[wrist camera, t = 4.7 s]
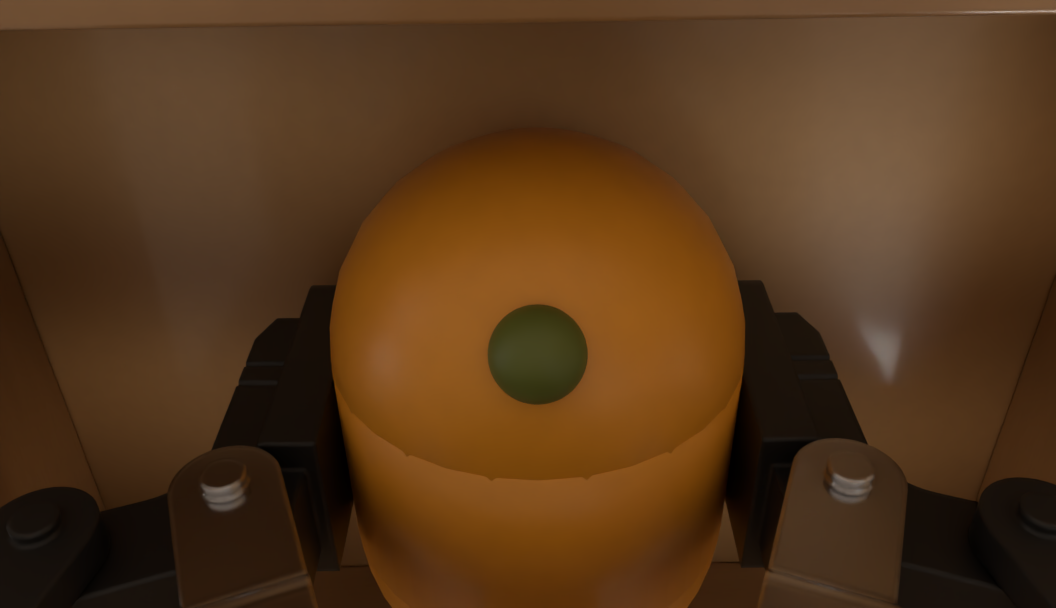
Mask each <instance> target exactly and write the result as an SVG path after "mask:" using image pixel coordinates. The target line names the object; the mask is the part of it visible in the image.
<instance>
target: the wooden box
mask: <svg viewBox="0 0 1056 608" xmlns="http://www.w3.org/2000/svg"><path fill="white" fill-rule="evenodd" d="M532 127H539V128H557V129H566V130H571V131H576V132H581V133H584V134H588V135H591V136H595V137H598V138H602V139H605V140H608V141H611V142H614V143H618V144H620V145H622V146H624V147H626V148H628V149H631V150H633V151H634V152H636V153H637V154H639V155H640V156H642V157H643V158H645V159H646V160H648V161H649V162H651V163H652V164H654V165H655V166H657V167H658V168H660V169H661V170H663V171H664V172H666V173H667V174H669V175H670V176H672V177H673V178H674V179H675V180H676V181H677V182H678V183H679V184H680V185H681V186H682V187H683V188H684V189H685V190H686V191H687V193H688V194H689V195H690V196H691V197H692V198H693V199H694V201H695V202H696V203H697V204H698V205H699V206H700V207H701V209H702V210H703V211H704V212H705V213H706V214H707V216H708V217H709V218H710V220H711V222H712V224H713V226H714V228H715V230H716V232H717V234H718V236H719V238H720V240H721V242H722V243H723V245H724V247H725V249H726V251H727V253H728V255H729V257H730V259H731V261H732V263H733V265H734V268H735V273H736V277H737V280H761V281H762V282H763V284H764V286H765V289H766V292H767V294H768V297H769V300H770V302H771V305H772V308H773V310H774V313H779V312H797V313H798V314H799V315H801V316H802V317H803V318H804V319H805V320H806V321H807V322H808V323H810V324H811V325H812V326H813V327H814V328H815V329H816V330H817V331H819V332H820V334H821V337H822V339H823V341H824V344H825V346H826V348H827V350H828V353H829V355H830V360H832V362H833V364H834V367H835V369H836V371H837V374H838V379H840V381H841V383H842V385H843V388H844V390H845V392H846V395H847V397H848V399H849V401H850V404H851V406H852V408H853V411H854V413H855V415H856V418H857V420H858V422H859V425H860V427H861V429H862V432H863V434H864V436H865V439H866V441H867V443H868V445H870V446H873V447H875V448H877V449H878V450H880V451H882V452H884V453H885V454H886V455H888V456H889V457H890V458H892V459H893V460H894V461H895V462H896V463H897V464H898V466H899V467H900V468H901V469H902V471H903V473H904V475H905V477H906V480H907V482H908V483H910V484H912V485H914V486H917V487H920V488H922V489H925V490H929V491H932V492H936V493H941V494H945V495H950V496H954V497H959V498H963V499H967V500H972V501H976V502H979V499H980V496H981V494H982V492H983V491H984V489H985V488H986V487H988V486H989V485H990V484H992V483H994V482H996V481H998V480H1002V479H1005V478H1014V477H1023V478H1032V479H1038V480H1042V481H1046V482H1049V483H1052V484H1055V485H1056V0H0V508H1V507H2V506H4V505H5V504H7V503H9V502H10V501H12V500H14V499H16V498H18V497H20V496H22V495H25V494H27V493H30V492H33V491H36V490H40V489H44V488H50V487H73V488H77V489H80V490H83V491H85V492H87V493H88V494H90V495H91V496H92V497H93V498H94V499H95V501H96V502H97V505H98V507H99V510H100V512H101V511H105V510H109V509H113V508H117V507H121V506H125V505H129V504H133V503H137V502H141V501H145V500H148V499H152V498H155V497H158V496H160V495H163V494H165V493H167V492H168V488H169V485H170V483H171V481H172V479H173V478H174V476H175V475H176V474H177V472H178V471H179V470H180V469H181V468H182V467H183V466H184V465H186V464H187V463H188V462H190V461H191V460H192V459H194V458H196V457H198V456H199V455H201V454H204V453H206V452H208V451H211V449H212V447H213V444H214V442H215V439H216V437H217V434H218V432H219V429H220V426H221V424H222V421H223V419H224V416H225V414H226V411H227V409H228V406H229V404H230V401H231V399H232V396H233V394H234V391H235V388H236V386H238V385H239V382H238V381H239V378H240V376H241V373H242V371H243V368H244V367H246V361H247V358H248V356H249V353H250V350H251V348H252V345H253V343H254V340H255V339H256V338H257V337H258V336H259V335H260V334H261V333H262V332H263V331H264V330H265V329H266V328H267V327H268V326H269V325H270V324H271V323H273V322H274V321H275V320H276V319H277V318H300V315H301V312H302V309H303V306H304V303H305V300H306V297H307V295H308V292H309V289H310V287H311V286H312V285H337V280H338V275H339V271H340V269H341V267H342V264H343V262H344V260H345V258H346V256H347V254H348V252H349V250H350V248H351V246H352V243H353V241H354V239H355V237H356V235H357V233H358V231H359V229H360V227H361V225H362V223H363V221H364V220H365V219H366V217H367V216H368V215H369V214H370V213H371V211H372V210H373V209H374V208H375V207H376V205H377V204H378V203H379V202H380V201H381V199H382V198H383V197H384V196H385V195H386V193H387V192H388V191H389V190H390V189H391V188H392V187H393V186H394V185H395V183H396V182H397V181H399V180H400V179H402V178H403V177H404V176H406V175H407V174H408V173H410V172H411V171H413V170H414V169H415V168H417V167H418V166H420V165H421V164H422V163H424V162H425V161H427V160H428V159H429V158H431V157H432V156H434V155H435V154H437V153H439V152H441V151H443V150H445V149H447V148H449V147H451V146H453V145H456V144H459V143H462V142H464V141H467V140H470V139H473V138H477V137H480V136H483V135H486V134H490V133H494V132H498V131H503V130H510V129H517V128H532ZM764 575H765V568H741V566H740V562H739V557H738V553H737V549H736V545H735V540H734V536H733V532H732V527H731V523H730V519H729V515H728V510H727V506H726V502H725V501H724V508H723V515H722V522H721V527H720V532H719V536H718V541H717V545H716V548H715V551H714V555H713V558H712V561H711V565H710V568H709V570H708V572H707V574H706V576H705V578H704V580H703V582H702V584H701V587H700V589H699V591H698V593H697V594H696V596H695V597H694V599H693V600H692V601H691V603H690V604H689V606H688V607H687V608H757V605H758V600H759V596H760V592H761V588H762V583H763V579H764ZM313 589H314V593H315V597H316V601H317V604H318V608H392V607H391V605H390V604H389V603H388V601H387V600H386V599H385V597H384V596H383V594H382V592H381V590H380V588H379V586H378V584H377V582H376V580H375V578H374V576H373V574H372V572H371V570H370V567H369V564H368V561H367V558H366V554H365V551H364V548H363V545H362V541H361V537H360V533H359V529H358V523H357V517H356V512H355V506H354V503H353V507H352V512H351V517H350V522H349V527H348V532H347V537H346V542H345V547H344V552H343V557H342V562H341V567H340V571H316V576H315V580H314V584H313Z"/></svg>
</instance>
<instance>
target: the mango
mask: <svg viewBox="0 0 1056 608" xmlns="http://www.w3.org/2000/svg"><path fill="white" fill-rule="evenodd" d="M330 351H331V364H332V374H333V380H334V386H335V392H336V398H337V404H338V410H339V416H340V422H341V428H342V434H343V440H344V446H345V452H346V458H347V464H348V470H349V476H350V482H351V488H352V494H353V500H354V506H355V512H356V517H357V523H358V529H359V533H360V537H361V541H362V545H363V548H364V551H365V554H366V558H367V561H368V564H369V567H370V570H371V572H372V574H373V576H374V578H375V580H376V582H377V584H378V586H379V588H380V590H381V592H382V594H383V596H384V597H385V599H386V600H387V601H388V603H389V604H390V605H391V607H392V608H687V607H688V606H689V604H690V603H691V601H692V600H693V599H694V597H695V596H696V594H697V593H698V591H699V589H700V587H701V584H702V582H703V580H704V578H705V576H706V574H707V572H708V570H709V568H710V565H711V561H712V558H713V555H714V551H715V548H716V545H717V541H718V536H719V532H720V527H721V522H722V515H723V508H724V501H725V494H726V487H727V480H728V473H729V466H730V459H731V452H732V445H733V438H734V431H735V424H736V417H737V410H738V404H739V397H740V390H741V383H742V376H743V369H744V357H745V317H744V311H743V305H742V298H741V294H740V290H739V286H738V281H737V277H736V273H735V268H734V265H733V263H732V261H731V259H730V257H729V255H728V253H727V251H726V249H725V247H724V245H723V243H722V242H721V240H720V238H719V236H718V234H717V232H716V230H715V228H714V226H713V224H712V222H711V220H710V218H709V217H708V216H707V214H706V213H705V212H704V211H703V210H702V209H701V207H700V206H699V205H698V204H697V203H696V202H695V201H694V199H693V198H692V197H691V196H690V195H689V194H688V193H687V191H686V190H685V189H684V188H683V187H682V186H681V185H680V184H679V183H678V182H677V181H676V180H675V179H674V178H673V177H672V176H670V175H669V174H667V173H666V172H664V171H663V170H661V169H660V168H658V167H657V166H655V165H654V164H652V163H651V162H649V161H648V160H646V159H645V158H643V157H642V156H640V155H639V154H637V153H636V152H634V151H633V150H631V149H628V148H626V147H624V146H622V145H620V144H618V143H614V142H611V141H608V140H605V139H602V138H598V137H595V136H591V135H588V134H584V133H581V132H576V131H571V130H566V129H557V128H539V127H532V128H517V129H510V130H503V131H498V132H494V133H490V134H486V135H483V136H480V137H477V138H473V139H470V140H467V141H464V142H462V143H459V144H456V145H453V146H451V147H449V148H447V149H445V150H443V151H441V152H439V153H437V154H435V155H434V156H432V157H431V158H429V159H428V160H427V161H425V162H424V163H422V164H421V165H420V166H418V167H417V168H415V169H414V170H413V171H411V172H410V173H408V174H407V175H406V176H404V177H403V178H402V179H400V180H399V181H397V182H396V183H395V185H394V186H393V187H392V188H391V189H390V190H389V191H388V192H387V193H386V195H385V196H384V197H383V198H382V199H381V201H380V202H379V203H378V204H377V205H376V207H375V208H374V209H373V210H372V211H371V213H370V214H369V215H368V216H367V217H366V219H365V220H364V221H363V223H362V225H361V227H360V229H359V231H358V233H357V235H356V237H355V239H354V241H353V243H352V246H351V248H350V250H349V252H348V254H347V256H346V258H345V260H344V262H343V264H342V267H341V269H340V271H339V275H338V280H337V285H336V290H335V294H334V299H333V304H332V312H331V320H330Z"/></svg>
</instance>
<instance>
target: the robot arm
mask: <svg viewBox="0 0 1056 608" xmlns="http://www.w3.org/2000/svg"><path fill="white" fill-rule="evenodd" d="M737 281H738V286H739V290H740V294H741V298H742V305H743V311H744V317H745V357H744V369H743V376H742V383H741V390H740V397H739V404H738V410H737V417H736V424H735V431H734V438H733V445H732V452H731V459H730V466H729V473H728V480H727V487H726V494H725V502H726V506H727V510H728V515H729V519H730V523H731V527H732V532H733V536H734V540H735V545H736V549H737V553H738V557H739V562H740V566H741V568H765V575H764V579H763V583H762V588H761V592H760V596H759V600H758V605H757V608H1056V485H1055V484H1052V483H1049V482H1046V481H1042V480H1038V479H1032V478H1023V477H1014V478H1005V479H1002V480H998V481H996V482H994V483H992V484H990V485H989V486H988V487H986V488H985V489H984V491H983V492H982V494H981V496H980V499H979V502H976V501H972V500H967V499H963V498H959V497H954V496H950V495H945V494H941V493H936V492H932V491H929V490H925V489H922V488H920V487H917V486H914V485H912V484H910V483H908V482H907V480H906V477H905V475H904V473H903V471H902V469H901V468H900V467H899V466H898V464H897V463H896V462H895V461H894V460H893V459H892V458H890V457H889V456H888V455H886V454H885V453H884V452H882V451H880V450H878V449H877V448H875V447H873V446H870V445H868V443H867V441H866V439H865V436H864V434H863V432H862V429H861V427H860V425H859V422H858V420H857V418H856V415H855V413H854V411H853V408H852V406H851V404H850V401H849V399H848V397H847V395H846V392H845V390H844V388H843V385H842V383H841V381H840V379H838V374H837V371H836V369H835V367H834V364H833V362H832V360H830V355H829V353H828V350H827V348H826V346H825V344H824V341H823V339H822V337H821V334H820V332H819V331H817V330H816V329H815V328H814V327H813V326H812V325H811V324H810V323H808V322H807V321H806V320H805V319H804V318H803V317H802V316H801V315H799V314H798V313H797V312H779V313H774V310H773V308H772V305H771V302H770V300H769V297H768V294H767V292H766V289H765V286H764V284H763V282H762V281H761V280H737ZM335 290H336V285H312V286H311V287H310V289H309V292H308V295H307V297H306V300H305V303H304V306H303V309H302V312H301V315H300V318H277V319H276V320H275V321H274V322H273V323H271V324H270V325H269V326H268V327H267V328H266V329H265V330H264V331H263V332H262V333H261V334H260V335H259V336H258V337H257V338H256V339H255V340H254V343H253V345H252V348H251V350H250V353H249V356H248V358H247V361H246V367H244V368H243V371H242V373H241V376H240V378H239V381H238V382H239V385H238V386H236V388H235V391H234V394H233V396H232V399H231V401H230V404H229V406H228V409H227V411H226V414H225V416H224V419H223V421H222V424H221V426H220V429H219V432H218V434H217V437H216V439H215V442H214V444H213V447H212V449H211V451H208V452H206V453H204V454H201V455H199V456H198V457H196V458H194V459H192V460H191V461H190V462H188V463H187V464H186V465H184V466H183V467H182V468H181V469H180V470H179V471H178V472H177V474H176V475H175V476H174V478H173V479H172V481H171V483H170V485H169V488H168V492H167V493H165V494H163V495H160V496H158V497H155V498H152V499H148V500H145V501H141V502H137V503H133V504H129V505H125V506H121V507H117V508H113V509H109V510H105V511H101V512H100V510H99V507H98V505H97V502H96V501H95V499H94V498H93V497H92V496H91V495H90V494H88V493H87V492H85V491H83V490H80V489H77V488H73V487H50V488H44V489H40V490H36V491H33V492H30V493H27V494H25V495H22V496H20V497H18V498H16V499H14V500H12V501H10V502H9V503H7V504H5V505H4V506H2V507H1V508H0V608H318V604H317V601H316V597H315V593H314V589H313V584H314V580H315V576H316V571H340V567H341V562H342V557H343V552H344V547H345V542H346V537H347V532H348V527H349V522H350V517H351V512H352V507H353V503H354V500H353V494H352V488H351V482H350V476H349V470H348V464H347V458H346V452H345V446H344V440H343V434H342V428H341V422H340V416H339V410H338V404H337V398H336V392H335V386H334V380H333V374H332V364H331V351H330V320H331V312H332V304H333V299H334V294H335Z"/></svg>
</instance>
